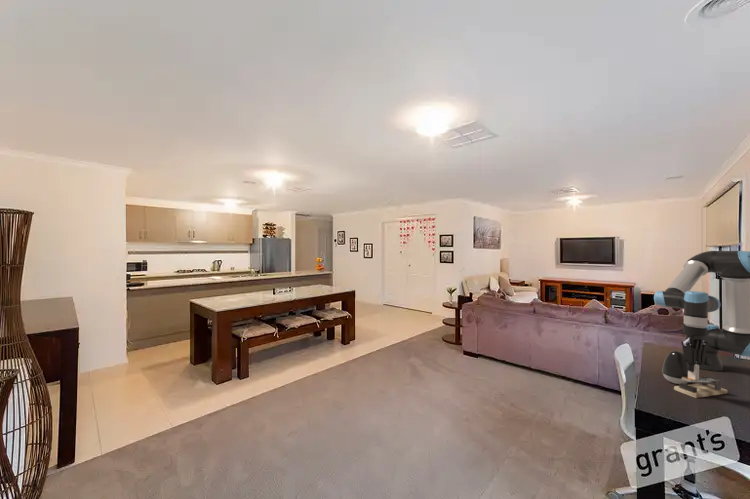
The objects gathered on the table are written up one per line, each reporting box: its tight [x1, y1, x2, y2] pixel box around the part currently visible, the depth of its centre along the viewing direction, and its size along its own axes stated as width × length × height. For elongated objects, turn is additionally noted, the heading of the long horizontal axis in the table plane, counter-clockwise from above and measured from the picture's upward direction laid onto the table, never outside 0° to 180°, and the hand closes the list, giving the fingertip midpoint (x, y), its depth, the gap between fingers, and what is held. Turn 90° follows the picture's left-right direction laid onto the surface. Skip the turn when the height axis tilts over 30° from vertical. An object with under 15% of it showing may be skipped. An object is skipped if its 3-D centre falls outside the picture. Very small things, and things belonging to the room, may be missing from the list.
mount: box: [673, 375, 728, 399], centre depth 141 cm, size 20×8×6 cm, turn 105°
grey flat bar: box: [682, 377, 716, 384], centre depth 141 cm, size 17×3×1 cm, turn 105°
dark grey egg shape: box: [661, 350, 690, 385], centre depth 151 cm, size 10×10×15 cm
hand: (693, 378), depth 140 cm, fingers closed, pressing on grey flat bar
